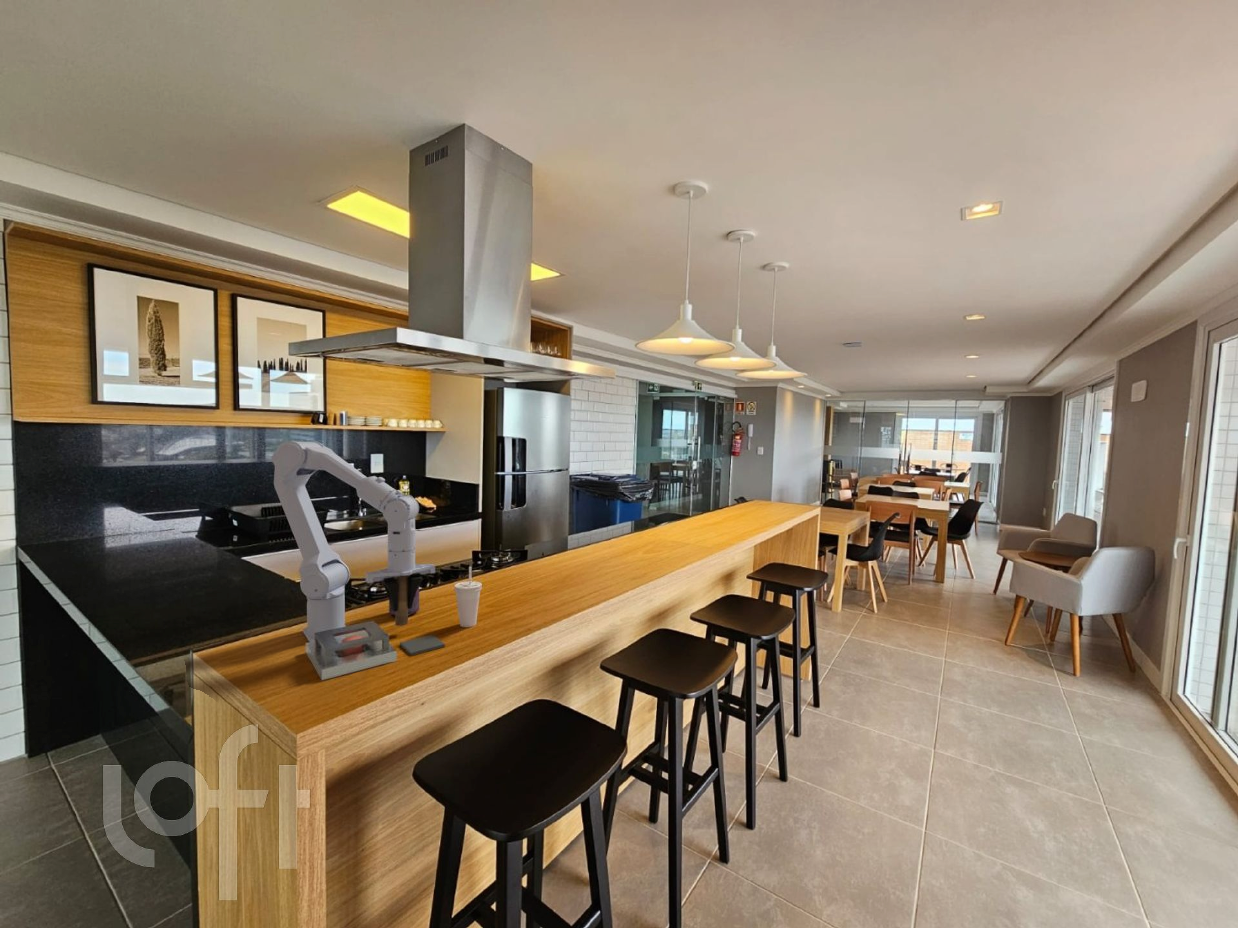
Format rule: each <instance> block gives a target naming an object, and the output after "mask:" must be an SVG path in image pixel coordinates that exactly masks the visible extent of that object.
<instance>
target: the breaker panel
mask: <svg viewBox="0 0 1238 928" xmlns="http://www.w3.org/2000/svg"><path fill="white" fill-rule="evenodd" d="M349 633H350V634H349ZM344 634H345V635H344ZM340 635H341V636H340ZM335 636H336V637H335ZM351 636H361V637H362V638H360V639H355V640H351V641H347V642H342V640H343V639H345V638H347V637H351ZM359 645H362V652H360V653H358V654H354V655H345V656H344V655H343V654H342V649H346V648H350V647H355V646H359ZM397 652H398V651H397V650H396V649H395V648H394V646H393V645H392V644H390V635H389V634H388V633H387V632H386V631H385V630H384V629H383V628H382V627H381V626H379V624H377V623H376V622H375V620H370V621H365V622H360V623H357V624H356V623H355V624H351V625H345V627H341V628H336V629H331V630H326V631H321V632H317V633H315V641H313V642H309V641H308V642H305V654H306V656H307V657H308V659H309V660H310V662H311V663H312V664H311V665H313V666H312V667H314V669H315V671H316V673H317V674H318V676H319V678H320V680H321V681H325V680H329V679H333V678H337V677H340V676H344V675H349V674H352V673H355V672H359V671H364V670H366V669H371V668H374V667H378V666H381V665H385V664H390V663H393V662H397V660H398V657H397V654H398V653H397Z"/></svg>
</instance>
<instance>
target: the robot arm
mask: <svg viewBox="0 0 1238 928" xmlns="http://www.w3.org/2000/svg"><path fill="white" fill-rule="evenodd" d="M270 459H271V461H272V463H273V465H274V474H273V475H274V476H273V485H274V489H275V492H276V494H277V496H278V499H279V501H280V504H281V507H282V509H283V511H284V514H285V516H286V519H287V521H288V523H289V526H290V530H291V533H292V534H293V536H294V539H295V542H296V544H297V547H298V549H299V551H300V554H301V557H302V560H301V563H300V566H299V568H298V573H299V576H300V584H299V585H300V590H301V592H302V593H303V594H304V595H305V596H306V600H307V601H306V627H303V628H301V629H302V630H301V631H302V633H303V634H304V636H305V638H307V641H308V643H309V642H313V641H315V633H317V632H321V631H326V630H331V629H336V628H341V627H345V626H346V624H345V623H346V621H345V619H346V618H345V617H346V615H345V614H346V612H345V611H346V610H345V609H346V605H345V589H346V588H345V587H346V585H347V584H348V582H349V580H350V578H351V571H350V568H349V567H348V565H347V564H346V563H344V562H343V560H342V559H341V557H340V554H339V553H337V552H335V551H334V550H332V549H331V548H330V546H329V543H328V541H327V538H326V535H325V533H324V530H323V528H322V525H321V523H320V520H319V518H318V515H317V513H316V510H315V508H314V505H313V503H312V500H311V497H310V495H309V493H308V490H307V488H306V484H307V483H308V481H309V479H310V477H311V476H312V475H314V474H315V473H316V472H317V471H325V472H327V473H329V474H331V475H333V476H334V477H336V478H337V479H338V480H341V481H342V482H343V483H346V485H347V484H348V485H349V486H351V487H353V488H355V489H356V495H357V497H358V498H359V499H361V500H362V501H364V502H365V503H367V504H369V505H370V506H371V507H373V508H374V509H376V510H377V511H379V512H381V513H382V516H383V518H384V519H385V521H386V522H387V568H384V569H383V568H382V569H379V570H375V571H369V572H365V582H366V583H367V584H373V583H374V582H380V583H381V585H382V586H383V588H384V590H385V592H386V595H387V597H388V601H390V605H391V610H393V611H394V612H395V611H397V608H398V604H397V593H398V585H399V583H397V582H396V580H395V578H396V577H400V576H407V575H408V608H409V609H410V608H412V604H413V600H414V597H415V594H416V592H417V589H418V587H419V588H420V585H421V584H422V581H423V576H421V575H425V574H436V565H435V564H433V563H422V564H416V517H417V515H418V514H419V512H420V511H419V510H420V505H419V502H418V501H417V499H416V498H414V497H413V496H412V495H411V494H403V491H402V490H400V489H395V488H393V487H392V486H390V485H389V484H388V483H386V479H385V478H384V477H382V476H379V477H377V476H376V475H373V476H368V477H367V476H366V475H364V474H363V472H360V471H359V470H358V469H356V467H354V466H352V465H351V464H350V463H348V462H347V461H346V460H344V459H343V458H342V457H341V456H339V455H338V454H337V453H336V452H334V450H332V449H331V448H329V447H327V446H325V445H324V444H322V443H321V442H318V441H316V440H315V441H312V440H311V441H294V440H287V441H283V442H281V443H280V444H279V445H278V446H277V448H276V449H275V451H274V453H273V454H272V455H271V457H270ZM349 634H350V633H349ZM344 635H345V634H344ZM340 636H341V635H340ZM335 637H336V636H335Z"/></svg>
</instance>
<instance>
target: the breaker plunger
mask: <svg viewBox="0 0 1238 928" xmlns="http://www.w3.org/2000/svg"><path fill="white" fill-rule="evenodd" d="M360 638H362V637H361V636H351V637H347V638H345V639H343V640H342V642H347V641H351V640H355V639H360ZM362 652H363V651H362V645H359V646H355V647H350V648H346V649H342V654H343V656H350V655H354V654H358V653H362Z"/></svg>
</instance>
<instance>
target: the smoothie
mask: <svg viewBox="0 0 1238 928" xmlns="http://www.w3.org/2000/svg"><path fill="white" fill-rule="evenodd" d="M482 585H483V584H482V582H479V581H472V566H469V567H468V581H461V582H458V583H455V584H454V588H453V589H454V591H455V596H456V604H457V611H458V619H459V626H460V627H462V628H470V627H474V626H476V625H477V620H478V612H479V604H480V603H479V602H480V595H481V590H482V588H483V587H482Z"/></svg>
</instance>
